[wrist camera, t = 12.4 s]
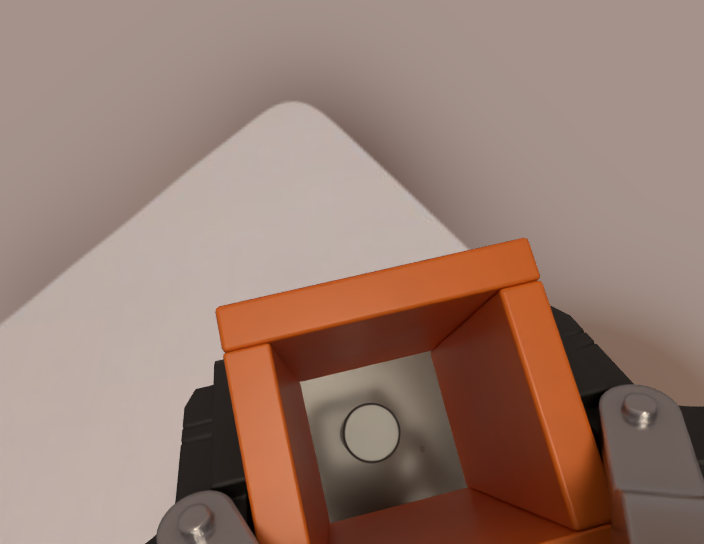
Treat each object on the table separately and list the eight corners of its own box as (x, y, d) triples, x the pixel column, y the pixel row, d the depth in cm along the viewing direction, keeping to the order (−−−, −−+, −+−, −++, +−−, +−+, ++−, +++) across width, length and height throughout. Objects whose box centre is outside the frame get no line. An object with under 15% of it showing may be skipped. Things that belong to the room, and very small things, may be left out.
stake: (424, 321, 33) (470, 262, 21) (476, 507, 30) (558, 550, 19) (247, 362, 32) (200, 323, 21) (285, 558, 29) (253, 634, 18)
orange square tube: (447, 320, 18) (529, 235, 10) (501, 509, 17) (643, 575, 9) (268, 362, 18) (213, 306, 10) (308, 560, 16) (280, 677, 8)
